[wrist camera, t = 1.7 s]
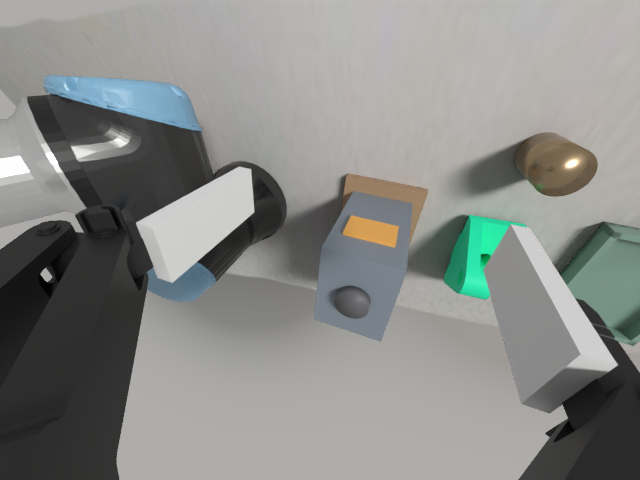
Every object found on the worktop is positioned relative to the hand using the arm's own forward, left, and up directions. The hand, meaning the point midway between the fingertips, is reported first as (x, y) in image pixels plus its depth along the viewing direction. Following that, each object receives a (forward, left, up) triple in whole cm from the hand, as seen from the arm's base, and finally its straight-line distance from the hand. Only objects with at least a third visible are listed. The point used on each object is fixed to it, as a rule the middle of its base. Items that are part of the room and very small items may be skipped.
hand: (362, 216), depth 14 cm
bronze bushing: (+17, -1, -27) cm, 32 cm away
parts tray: (+34, -16, -27) cm, 46 cm away
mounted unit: (0, -16, -27) cm, 31 cm away
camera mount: (+17, -16, -27) cm, 36 cm away
